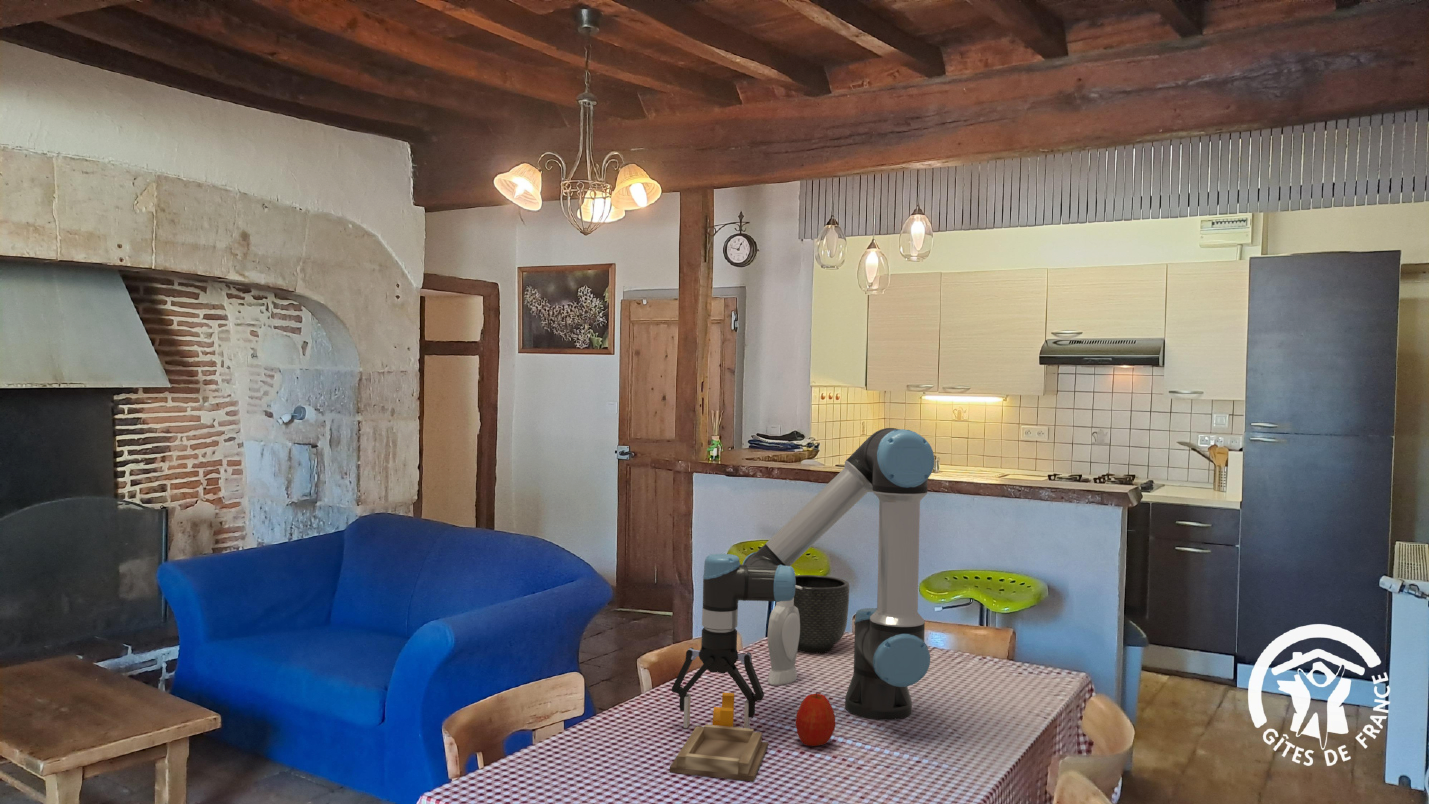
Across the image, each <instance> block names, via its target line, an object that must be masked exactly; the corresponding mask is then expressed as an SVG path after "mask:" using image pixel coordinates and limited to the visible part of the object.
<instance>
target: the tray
mask: <svg viewBox="0 0 1429 804" xmlns="http://www.w3.org/2000/svg"><path fill="white" fill-rule="evenodd" d="M768 748H769V742H768V741H763V732H759V731H755V729H754V728H750V729H748V728H744V727H739V726H738V727H737V726H733V727H728V726H718V725H712V724H707V723H706V724H705V725H704V726H698V725H695V728H694V729H693V731H692V732H691V734H690V736H689V737H688V738H687V740H686V741H685V743H684V745H683V746H682V748H681V749H680V751H679V752H678V753H677V755H676V757H675V758H674V760H673V761H672V762H671V764H670V765H669V773H671V774H672V773H673V774H683V775H691V776H699V777H709V778H718V779H720V778H721V779H726V780H727V779H728V780H737V781H744V782H745V781H747V782H754V781H755V779H756V777H757V774H758V772H759V770H760V767H761V765H762V762H763V760H764V758H765V755H766V752H767V750H768Z"/></svg>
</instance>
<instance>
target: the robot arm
mask: <svg viewBox="0 0 1429 804" xmlns="http://www.w3.org/2000/svg"><path fill="white" fill-rule="evenodd" d="M934 468H935V454H934V451H933V448H932V446H931V444H930V443H929V442H928V441H927V439H926V438H925V437H923V436H921V435H920V434H919V433H917V432H915V431H913V430H910V429H905V428H902V429H900V428H897V427H896V428H894V427H885V428H881V429H878V430H877V431H875V432H874V433H872V434H871V435H870V436H869V437H868V438H866V440H864V442H863V443H862V444H861V445H860V446H859V447H857V449H855V451H854V452H853V453H851V455H850V456H849V457H848V458H847V459H846V460H845V461H844V468H843V469H842V470H841V471H840V472H839V473H837V475H835V476H834V477H833V478H832V479H831V480H830V481H829V482H827V484H826V485H825V486H824V487H823V488H822V489H821V490H820V491H819V492H818V493H817V494H816V495H815V496H813V498H811V499H810V500H809V501H808V502H807V503H806V504H805V505H804V506H803V507H802V508H801V509H800V510H799V511H798V512H797V513H795V515H794V516H793V517H792V518H790V519H789V521H788V522H787V523H785V524H784V525H783V526H782V527H781V528H780V529H779V530H778V531H777V532H776V533H775V534H773V536H771V538H770V539H768V541H767V542H766V543H765V544H764V545H763V546H761V547H759V549H758V550H757V551H756V552H755V551H754V552H752V553H750V554H748V555H746V557H745V558H744V560H743V561H742V564H741V562H740V558H739V556H738V555H735V554H731V553H713V554H709V555H707V557H705V559H704V563H703V575H702V579H703V581H702V613H701V614H702V616H701V617H702V618H701V626H702V627H703V628H702V629H701V647H700V649H694V647H689V648H688V649H687V651H686V652H685V660H684V662H683V665H682V666H681V668H680V669H679V670H680V671H679V673H678V674H677V677H676V679H675V680H674V683H673V685H672V687H671V693H675V694H677V695H679V711H681V712H683V728H684V729H687V728H689V726H690V725H691V701H692V700H691V693H688V692H689V691H690V690H691V689H692V687H693V686H694V685H695V683H697V682H698V680H699V679H700V678H701V677H702V676H703V674H704V673H705V672H706V671H708V672H710V673H719V674H724V675H725V673H728V675H729V676H730V677H731V678H732V680H733V681H734V682H735V684H736V685H737V687H738V689H739V690H740V691H741V693H742V694H743V696H744V697H745V699H746V701H745V702H744V711H743V712H744V713H743V714H744V716H743V717H744V718H743V728H748V729H751V728H750V725H751V723H750V722H751V721H750V720H751V718H754V717H755V714H756V702H760V701H762V700H763V699H764V697H765V693H764V692H765V691H764V690H763V687H762V685H761V683H760V681H759V678H758V674H757V673H756V670H755V668H754V665H753V662H752V661H753V659H752V658H753V657H752V653H751V652H750V651H749V652H748V651H747V652H746V653H739V652H738V630H737V629H736V628H737V627H738V623H739V622H738V617H739V615H738V614H739V613H738V612H739V601H742V602H744V601H745V602H746V601H748V602H749V601H751V602H752V601H753V602H754V601H756V602H776V601H777V602H780V601H790V600H792V599H793V598H794V595H795V588H796V579H795V576H796V573H795V572H796V571H795V569H794V568H793V566H792V565H793V564H794V563H795V562H796V561H797V560H798V559H799V558H800V557H802V555H804V554H805V553H806V552H807V551H808V550H809V549H810V548H811V547H812V546H813V545H814V544H815V543H816V542H817V541H819V539H820V538H822V536H824V535H825V534H826V533H827V532H828V531H829V530H830V529H831V528H832V527H833V526H835V524H836V523H837V522H838V521H839V520H840V519H842V517H844V515H846V514H847V513H848V512H849V511H850V510H851V509H852V508H853V507H854V506H855V505H856V504H857V503H858V502H859V501H860V500H861V499H862V498H863V497H864V496H866V495H867V494H868V493H873V494H874V495H875V496H876V498H877V499H878V500H879V501H878V503H879V504H878V508H879V509H878V547H877V548H878V549H877V550H878V552H877V553H878V555H877V558H878V560H877V594H876V595H877V596H876V597H877V601H876V602H877V604H876V608H874V607H872V608H870V607H869V608H868V607H867V608H866V607H865V608H860V609H858V610H857V611H856V612H855V616H854V617H855V618H854V622H853V623H854V642H853V643H854V645H853V649H854V650H853V674H852V678H851V680H850V683H849V684H848V685H849V686H848V688H847V690H846V693H845V697H844V707H845V710H847V712H849V713H851V714H853V715H855V716H858V717H861V718H865V719H870V720H880V721H881V720H883V721H887V720H888V721H889V720H890V721H892V720H894V721H895V720H900V719H904V718H906V717H910V716H911V714H912V713H913V712H912V711H913V702H912V699H911V695H910V691H909V688H908V687H910V686H912V685H915V684H917V683H918V682H920V681H921V680H922V679H923V678H924V677H925V676H926V674H927V673H928V671H929V668H930V666H931V654H930V651H929V647H928V645H927V644H926V642H925V619H924V618H923V617H922V615H920V613H919V611H918V610H919V609H918V608H919V570H920V569H919V566H920V564H919V563H920V562H919V560H920V559H919V558H920V557H919V556H920V520H921V519H920V516H921V515H920V513H921V512H920V510H921V500H922V499H923V498H925V497H926V496H927V495H928V480H929V478H930V476H931V475H932V473H933V470H934ZM697 657H699V660H701V662H702V663H703V664H702V665H701V667H700V668H699V669H698V670H697V671H696V672H695V674H694V675H693V676H692V677H691V679H689V681H687V683H685V684H684V686H681V685H682V683H683V682H684V679H685V678H686V675H687V673H688V672H689V668H690V667H691V664H692V663H693V661H695V660H696V658H697ZM738 660H739V661H740V663H741V665H743V666H744V669H745V672H746V674H747V677H748V680H749V682H750V685H751V687H750V686H749V684H748V683H747V681H746V680H745V678H744V677H743V676H742V674H741V673H740V671H739V669H738V667H737V665H736V663H737V662H738ZM751 688H752V689H751Z"/></svg>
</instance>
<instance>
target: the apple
mask: <svg viewBox="0 0 1429 804" xmlns="http://www.w3.org/2000/svg"><path fill="white" fill-rule="evenodd" d="M835 728H836V716H835V712H834V709H833V707H832V704H831V703H830V701H829V700H828V698H827V697H826V695H824V694H820V693H818V692H817V691H816V692H815V693H810V694H807V696H805V697H804V699H803V700H802V702H801V704H800V706H799V708H798V710H797V712H796V717H795V729H796V733H797V736H798V738H799V740H800V742H801V743H802V744H803V745H805V746H808V747H816V746H822V745H825V744H827V743H829V741H830V740H831V738H832V735H833V734H834V732H835Z"/></svg>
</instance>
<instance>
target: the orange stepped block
mask: <svg viewBox="0 0 1429 804" xmlns="http://www.w3.org/2000/svg"><path fill="white" fill-rule="evenodd" d="M734 716H735V693H734V692H722V696H721V706H714V707H713V713H712V721H711V722H712V723H711V725H718V726H728V727H734V723H735V721H734V719H735V718H734Z"/></svg>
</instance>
